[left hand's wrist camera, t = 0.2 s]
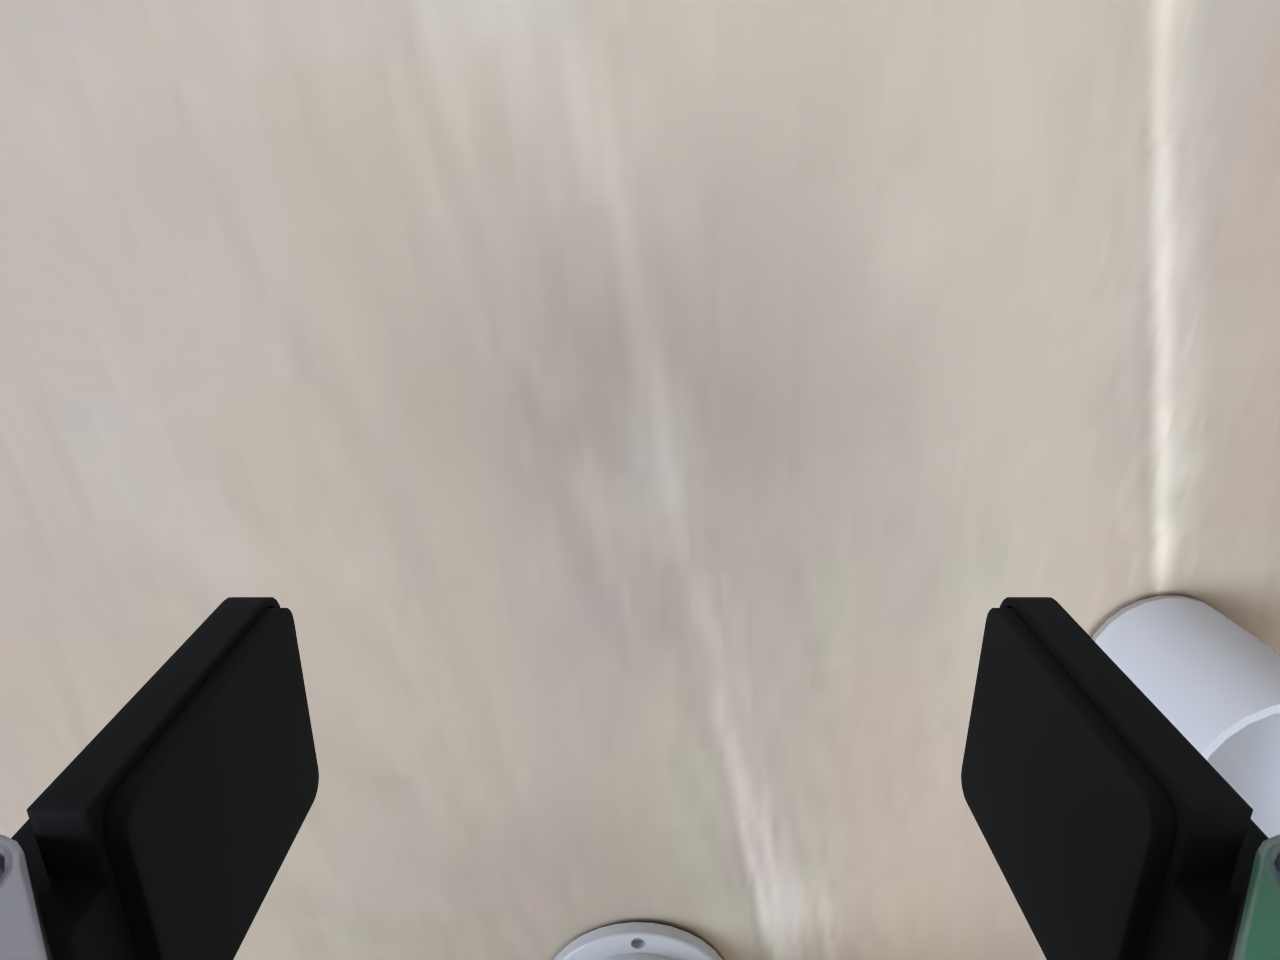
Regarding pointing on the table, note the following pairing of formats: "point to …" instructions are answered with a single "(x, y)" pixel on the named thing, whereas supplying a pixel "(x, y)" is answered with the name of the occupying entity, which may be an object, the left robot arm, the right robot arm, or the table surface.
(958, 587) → the table surface
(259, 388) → the table surface
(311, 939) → the table surface
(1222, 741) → the mug
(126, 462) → the table surface
